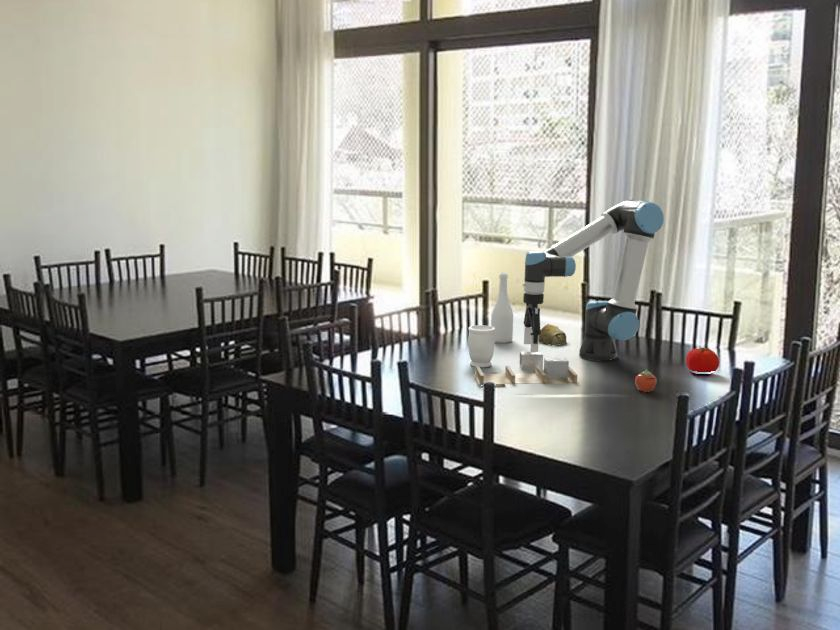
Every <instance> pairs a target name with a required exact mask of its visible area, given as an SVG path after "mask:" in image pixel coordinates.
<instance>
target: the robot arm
mask: <svg viewBox="0 0 840 630" xmlns="http://www.w3.org/2000/svg"><path fill="white" fill-rule="evenodd" d="M664 216H665V215H664V212H663V210H662V208H661V207H660V206H659V205H658V204H657V203H655V202H652V201H649V200H648V201H647V200H636V199H627V200H623V201H622V202H619V203H617V204H616V205H614V206H612V207H611V208H608V209H607V210H605V211H604V212H602V213H601V215H600V217H599V218H597V219H596V220H594V221H592V222H590V223H589V224H587V225H586V226H584V227H582V228H581V229H579V230H577V231H576V232H574V233H572V234H571V235H569V236H567V237H566V238H564V239H562V240H561V241H559V242H557V243H556V244H554V245H552V246H551V247H549V248H547V249H546V250H544V251H540V250H530V251H527V252H526V254H525V258H524V259H525V261H524V279H523V280H524V283H523V284H522V287H523V291H524V293H523V297H522V299H523V300H522V301H523V303H524V304H526V306H525V312H524V318H523V325H524V330H523V331H524V332H523V333H524V335H523V345H530V351H529V352H539V345H540V344H539V343H540V342H539V335H540V334H541V332H540V330H541V316H540V315H541V314H540V313H541V308H540V307H538V305H542V304H543V303H544V297H545V296H544V295H545V294H544V292H545V279H546V278H549V277H552V278H553V277H556V278H559V277H562V278H563V277H564V278H565V277H566V278H567V277H573V275H574V274H575V273H576V270H577V269H576V268H577V266H576V264H577V263H576V261H575V259H574V256H576V255H577V254H579V253H580V252H582V251H584V250H586V249H587V248H589V247H591V246H593V244H595V243H597V242H599V241H601V240H602V239H604V238H605V237H607V236H608V235H611V234H612V235H615V234H617V233H619V232H621V231H623V235H624V237H625V241H624V247H623V252H622V255H621V258H620V259H621V260H620V263H619V267H618V273H617V278H616V282H615V285H614V290H613V294H612V298H610V299H609V300H594V301H592V300H591V301H588V302H587V303H586V305H585V320H584V321H585V322H584V339H583V341H582V343H581V346H580V348H579V353H578V354H579V357H580V358H581V359H584V358H585V360H589V359H591V360H590V361H596V360H609V361H611V360H610V359H614V358H616V357H617V358H618V351H617V346H616V343H615V340H618V341H628V340H630V339H632V338H633V337H634V336H635V335H636V333H637V332H638V331H639V329H640V328H639V327H640V319H639V318H638V316H637V311H638V307H637V305H636V303H635V302H636V298H637V294H638V290H639V285H640V282H641V281H640V280H641V276H642V273H643V267H644V263H645V258H646V255H647V250H648V246H649V243H650V242H651V241H652V240H654V238H655V234H656V233H657V232H658V231H659V230H661V228H662V226H663V224H664V221H665V217H664ZM617 358H616V359H617ZM614 360H615V359H614Z"/></svg>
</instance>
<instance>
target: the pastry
mask: <svg viewBox="0 0 840 630" xmlns="http://www.w3.org/2000/svg"><path fill="white" fill-rule="evenodd" d="M540 332H541V334H540V335H539V343H541V342H542V344H545V345H549V344H551V345H550V346H552V345H556V346H560V345H564V344H566V343H567V335H566V332H564V331H563V330H561V329H560V328H559V326H557V325H553V324H549V323H548V324H546V325H544V326H543V327H542V328H540Z"/></svg>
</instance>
